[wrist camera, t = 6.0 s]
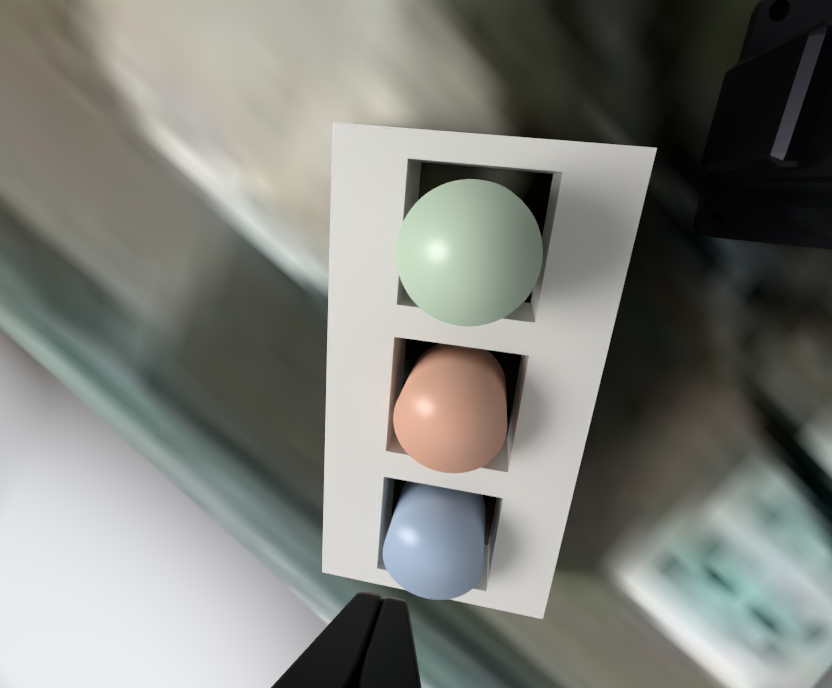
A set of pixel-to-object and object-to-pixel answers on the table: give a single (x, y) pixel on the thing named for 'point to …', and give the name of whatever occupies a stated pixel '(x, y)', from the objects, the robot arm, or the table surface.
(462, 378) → the terracotta button
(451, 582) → the slate button
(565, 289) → the panel
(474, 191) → the sage button
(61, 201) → the table surface
